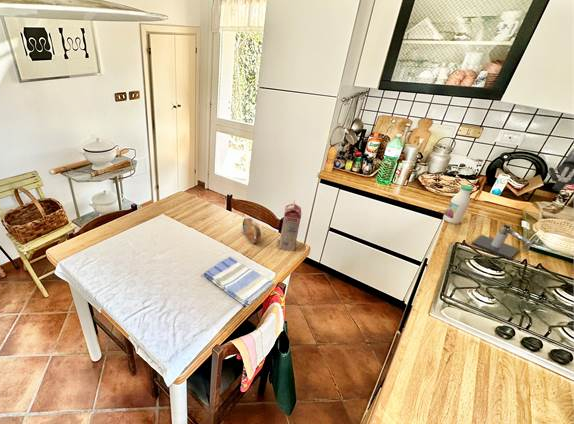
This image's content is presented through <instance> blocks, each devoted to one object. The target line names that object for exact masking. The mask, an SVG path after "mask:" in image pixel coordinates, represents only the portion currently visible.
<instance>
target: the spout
mask: <svg viewBox="0 0 574 424" xmlns="http://www.w3.org/2000/svg"><path fill="white" fill-rule="evenodd" d="M498 231H499V233H501V234H503V235H508V236H509V235H511V236H513V237H514V238H516V239H518V240H519V241H521V242H522V243H524V244H523V245H522V246H521V248H522V249H524V250H530V248H531V247H532V245H533V241H531V240H530V239H528V238H527V237H525V236H523V235H522V234H519V233H518V232H516V231H515V230H514V229H513V230H512V227H511V226H510V225H507V224H504V225H501V227H500V228H499V230H498Z"/></svg>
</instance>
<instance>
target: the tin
mask: <svg viewBox="0 0 574 424" xmlns="http://www.w3.org/2000/svg"><path fill="white" fill-rule="evenodd" d="M242 231H243V234H244V235H245V236H246V238H247V239H248V240H249V241H250V243H252V244H256V243H259V242H260V240H261V236H262V231H261V228H260V227H259V225H258V224H257V223H256V222H255V221H254V220H253V219H252V218H249V217H247V218H244V219H243V220H242Z"/></svg>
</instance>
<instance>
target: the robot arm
mask: <svg viewBox="0 0 574 424" xmlns="http://www.w3.org/2000/svg"><path fill="white" fill-rule="evenodd" d="M547 172H548V173H547V174H548V175H549V177H550V179H551V181H552V182H555V184H554V185H553V187H552V190H553V191H554V192H555V191H556V192H559V191H563V189H564V188H565V186H567V185H569V186H574V148H573V149H571V150H570V152H569V153H568V154H567V156H566V157H565V158H564V160H563V161H562V162H561V164H560V165H558V166H557V167H549V168H548V170H547ZM556 173H557V174H558V175H557V174H556ZM558 176H559V177H558Z"/></svg>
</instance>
